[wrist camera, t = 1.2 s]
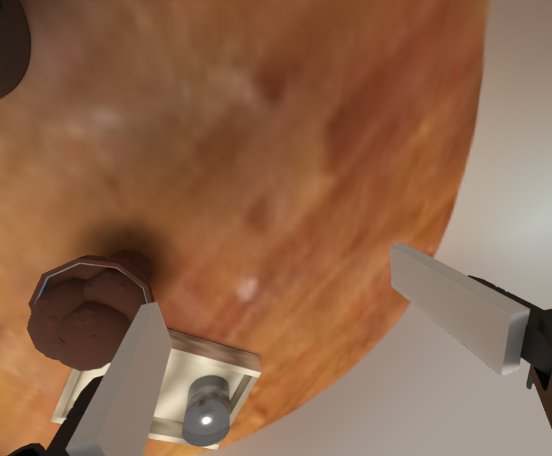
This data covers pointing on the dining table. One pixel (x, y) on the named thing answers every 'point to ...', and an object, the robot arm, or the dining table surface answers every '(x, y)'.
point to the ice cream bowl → (88, 308)
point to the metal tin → (207, 411)
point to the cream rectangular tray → (180, 382)
